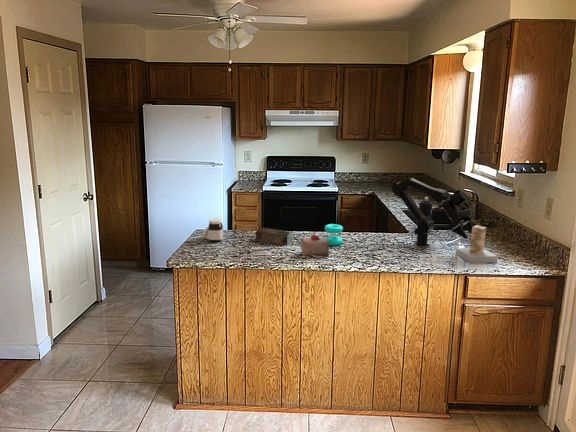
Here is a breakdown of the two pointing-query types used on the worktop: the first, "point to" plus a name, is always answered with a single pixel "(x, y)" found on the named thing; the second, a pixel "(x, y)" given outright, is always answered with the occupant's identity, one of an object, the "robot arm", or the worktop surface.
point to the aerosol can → (426, 207)
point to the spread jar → (214, 230)
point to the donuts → (334, 229)
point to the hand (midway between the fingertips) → (470, 236)
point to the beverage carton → (274, 236)
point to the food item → (315, 246)
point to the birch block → (477, 239)
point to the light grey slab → (476, 256)
